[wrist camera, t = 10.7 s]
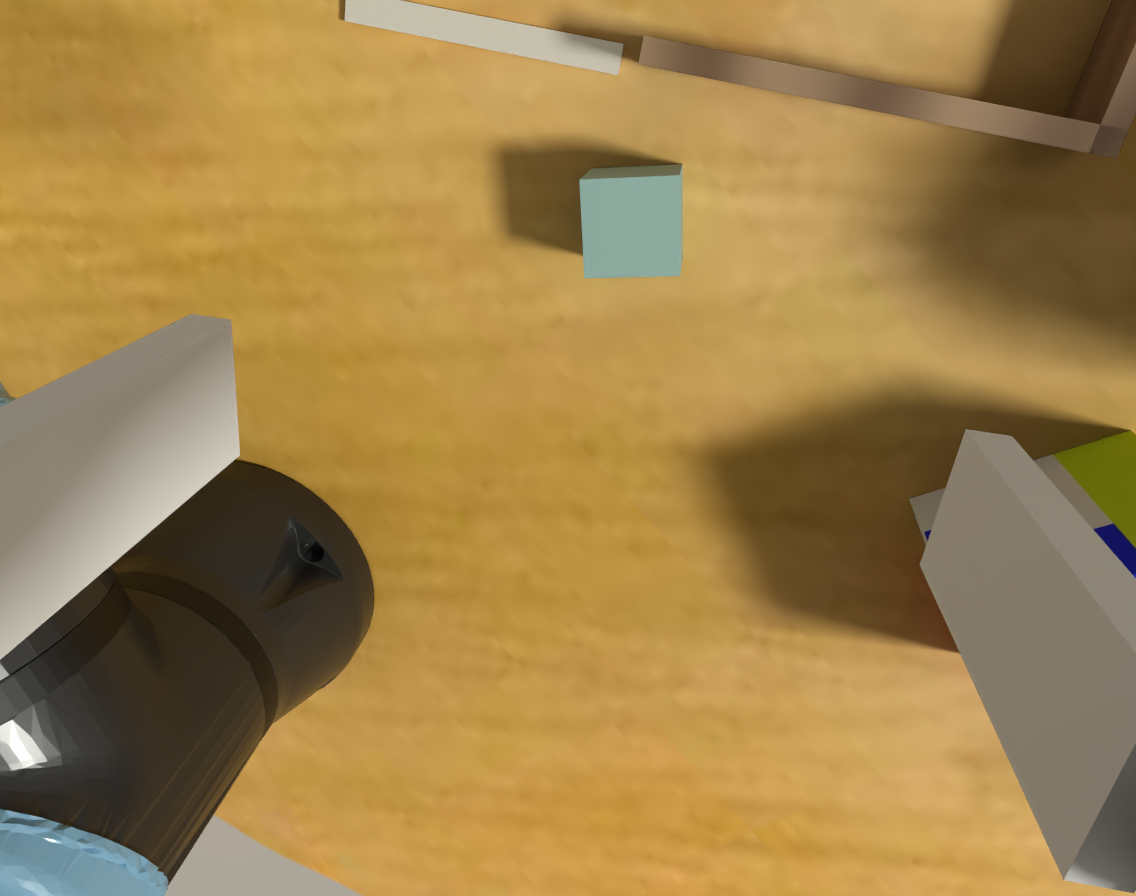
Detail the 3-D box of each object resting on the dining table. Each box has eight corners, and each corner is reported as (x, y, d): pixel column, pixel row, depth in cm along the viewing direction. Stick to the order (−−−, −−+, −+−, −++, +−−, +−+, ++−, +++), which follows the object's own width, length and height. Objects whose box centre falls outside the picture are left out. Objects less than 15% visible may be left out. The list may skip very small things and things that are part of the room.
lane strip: (347, 21, 36) (344, 20, 36) (349, -10, 36) (346, -11, 35) (618, 74, 35) (617, 75, 35) (624, 44, 35) (623, 43, 35)
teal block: (596, 258, 39) (584, 278, 35) (592, 167, 37) (579, 179, 34) (683, 255, 38) (679, 276, 35) (682, 163, 37) (679, 175, 33)
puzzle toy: (908, 498, 41) (963, 618, 32) (1129, 429, 38) (1258, 541, 29) (963, 653, 45) (1028, 802, 36) (1172, 601, 42) (1299, 749, 33)
